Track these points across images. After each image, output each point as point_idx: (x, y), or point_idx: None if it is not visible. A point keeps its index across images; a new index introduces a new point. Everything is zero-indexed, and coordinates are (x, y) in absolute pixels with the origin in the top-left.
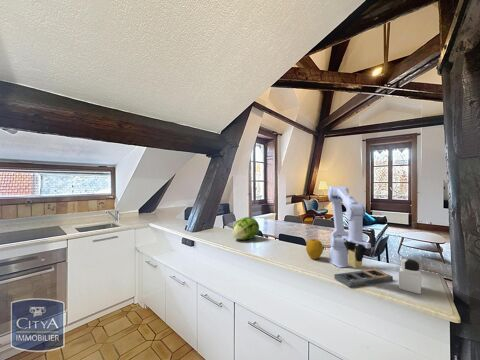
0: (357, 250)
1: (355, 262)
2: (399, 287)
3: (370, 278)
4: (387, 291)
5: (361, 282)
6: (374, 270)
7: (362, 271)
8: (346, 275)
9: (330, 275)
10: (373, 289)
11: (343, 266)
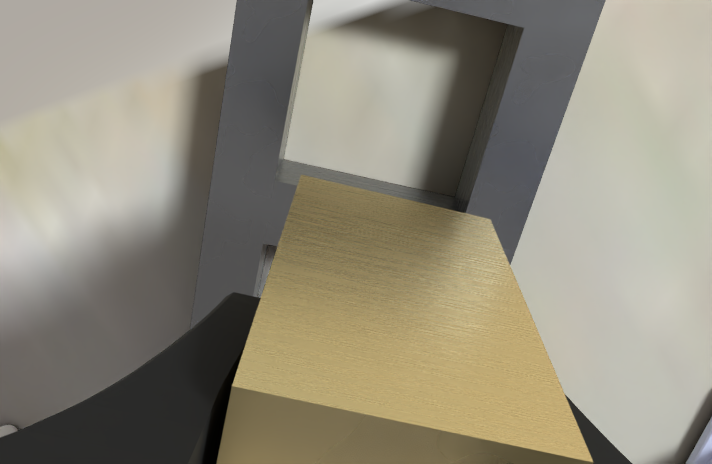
0: (59, 458)
1: (282, 233)
2: (4, 431)
3: None
4: (7, 252)
5: (222, 119)
6: None
7: None
8: (484, 138)
9: (705, 6)
10: (101, 153)
11: (709, 437)
